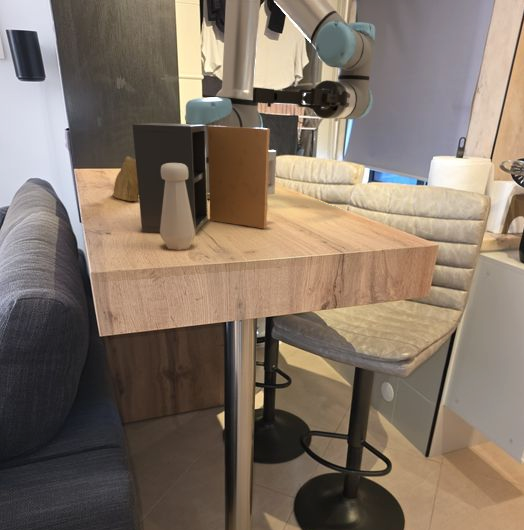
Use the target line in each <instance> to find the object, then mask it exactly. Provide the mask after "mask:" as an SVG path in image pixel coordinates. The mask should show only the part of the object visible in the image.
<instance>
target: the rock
mask: <svg viewBox="0 0 524 530" xmlns="http://www.w3.org/2000/svg"><path fill="white" fill-rule="evenodd" d="M111 196H112V197H114V198H115V199H119V200H123V201H127V202H138V201H139V192H138V181H137V170H136V160H135V158H134V157H131V156H129V155H127V156H126V157H125V159H124V162H123V163H122V166H121V167H120V171H118V173H117V174H116V177H115V181H114V187H113V193H112V195H111Z"/></svg>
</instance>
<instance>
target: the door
mask: <svg viewBox="0 0 524 530" xmlns="http://www.w3.org/2000/svg"><path fill="white" fill-rule="evenodd" d="M270 131H271V129H270V128H265V127H263V128H245V127H225V126H208V152H209V195H210V199H209V220H210V221H215V222H221V223H228V224H234V225H238V226H239V225H240V226H247V227H253V228H259V229H266V228H267V224H268V223H267V222H268V220H267V219H268V218H267V217H268V196H271V195H275V193H276V172H277V150H274V149H270Z"/></svg>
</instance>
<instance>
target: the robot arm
mask: <svg viewBox="0 0 524 530" xmlns="http://www.w3.org/2000/svg"><path fill="white" fill-rule="evenodd" d="M273 2H274V3H275V4H276V5H277V6H278V7H279V8H280V10H281V11H282V12H283V13H284V14H285V15H286V16H287V18H288V19H289V20H290V21H291V22H292V23H293V25H294V26H295V27H296V28H297V29H298V30H299V31H300V33H302V35H303V36H304V37H305V38H306V39H307V41H309V43H310V44H311V46H312V47H313V48H314V49H315V52H316V55H317V57H318V59H319V60H320V61H321V62H322V63H324V64H325V65H326V66H328V67H330V68H336V69H338V73H337V80H328V79H327V80H322V81H320V82H319V83H317V85H316V86H315V87H312V88H309V89H306V88H300V89H299V88H298V89H297V90H296V91H293V90H276V89H274V88H267V87H266V88H264V87H258V86H257V87H255V76H256V62H257V50H258V36H259V35H258V34H259V21H260V7H261V0H225V9H224V10H225V14H224V33H223V34H224V35H223V37H224V38H223V56H222V59H223V60H222V76H221V77H222V79H221V89H220V90H219V91H217V93H216V94H215V97H213V96H212V97H211V96H210V97H197V98H193V99H189V100H188V101H187V102H186V103H185V115H184V120H185V124H197V125H205V131H206V171H207V200H210V195H209V152H208V126H225V127H245V128H264V123H263V118H262V115H261V114H260V111H259V104H266V105H267V106H266V107H268V108H271V107H272V105H274V104H278V105H279V104H282V105H295V106H296V107H297V108H307V109H309V110H312V111H313V113H314V114H315V116H317V118H320V119H325V120H326V119H334V120H333V121H334V122H339V119H341V120H357V119H362V118H364V117H366V116H367V115H368V114H369V113H370V111H371V109H372V107H373V103H374V98H373V97H374V96H373V93H372V91H371V89H369V86H370V79H371V78H370V77H371V69H372V61H373V56H374V55H373V54H374V48H375V44H376V27H375V25H374V24H372V23H369V22H362V21H361V22H360V21H358V22H348V23H347V21H346V20H345V19H344V18H343V17H342V16H341V14H339V13H338V11H337V10H336V9H335V8H334V7H333V6H332V4H331V3H330V2H329V1H328V0H273ZM303 93H304V94H303Z"/></svg>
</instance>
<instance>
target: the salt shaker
mask: <svg viewBox="0 0 524 530" xmlns="http://www.w3.org/2000/svg"><path fill="white" fill-rule="evenodd" d="M161 177H162V179H164V180H165V188H164V198H163V207H162V216H161V226H160V233H159V234H160V237H161V239H162V241H163V242H164V244H165V246H166V248H167V249H169V250H176V251H181V250H187V249H190V248H191V246H192V243H193V241H194V239H195V236H196V234H195V229H194V224H193V219H192V214H191V209H190V204H189V199H188V194H187V189H186V184H185V180H186V179H188V168H187V166H186V165H185V164H182V163H166V164H163V165H162V166H161Z"/></svg>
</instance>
